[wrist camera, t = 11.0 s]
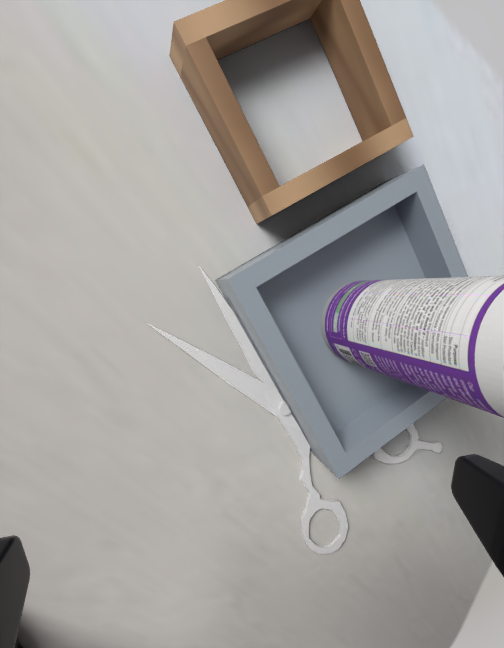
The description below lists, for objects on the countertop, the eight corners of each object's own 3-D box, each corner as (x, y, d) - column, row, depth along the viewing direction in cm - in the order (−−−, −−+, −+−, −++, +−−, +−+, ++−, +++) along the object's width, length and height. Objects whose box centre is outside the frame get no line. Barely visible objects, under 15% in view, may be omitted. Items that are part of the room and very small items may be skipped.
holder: (256, 223, 20) (271, 215, 18) (169, 55, 18) (173, 21, 16) (384, 152, 22) (413, 136, 20) (317, -8, 20) (340, -48, 18)
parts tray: (314, 454, 23) (338, 479, 20) (215, 280, 20) (227, 279, 17) (459, 349, 25) (500, 357, 22) (387, 180, 22) (424, 164, 20)
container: (402, 341, 23) (856, 434, 8) (336, 375, 22) (726, 551, 7) (378, 268, 22) (843, 229, 7) (308, 299, 21) (691, 328, 6)
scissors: (342, 575, 24) (93, 368, 18) (335, 566, 25) (94, 365, 19) (444, 447, 25) (242, 219, 20) (435, 442, 26) (238, 222, 21)
